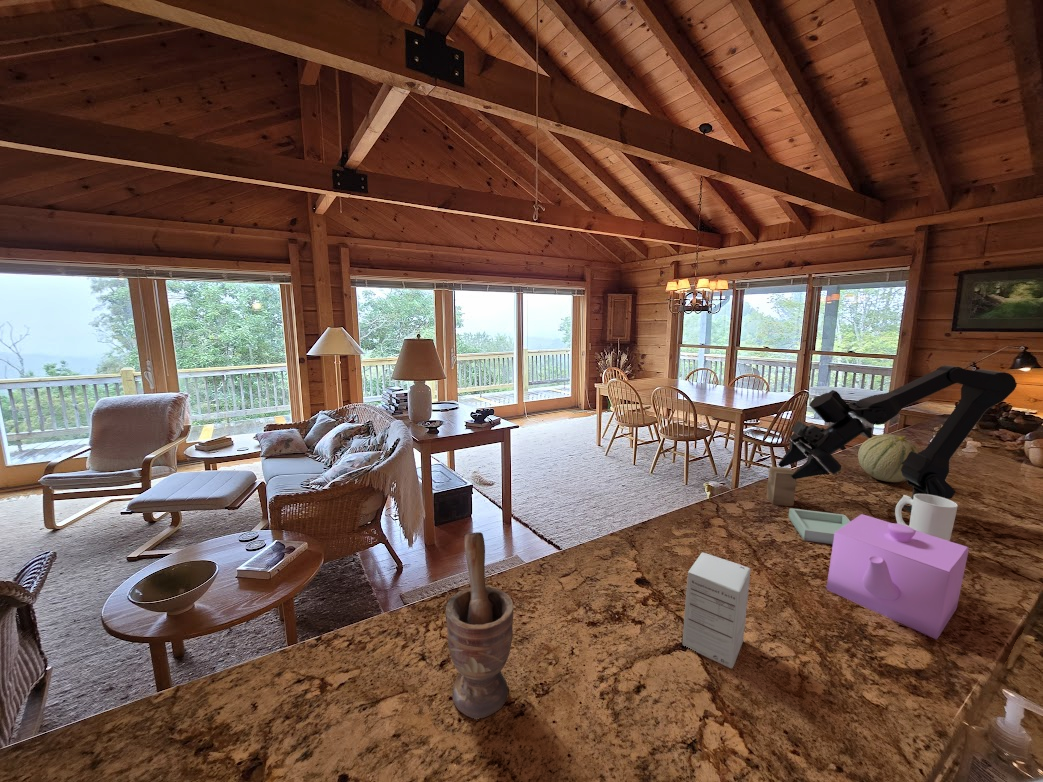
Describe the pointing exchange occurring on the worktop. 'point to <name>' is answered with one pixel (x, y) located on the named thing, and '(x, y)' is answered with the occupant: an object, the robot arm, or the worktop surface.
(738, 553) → the worktop surface
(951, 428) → the robot arm
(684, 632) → the supplement box
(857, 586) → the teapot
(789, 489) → the walnut block
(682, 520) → the worktop surface
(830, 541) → the tray
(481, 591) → the mortar and pestle
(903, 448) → the cantaloupe
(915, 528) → the mug
